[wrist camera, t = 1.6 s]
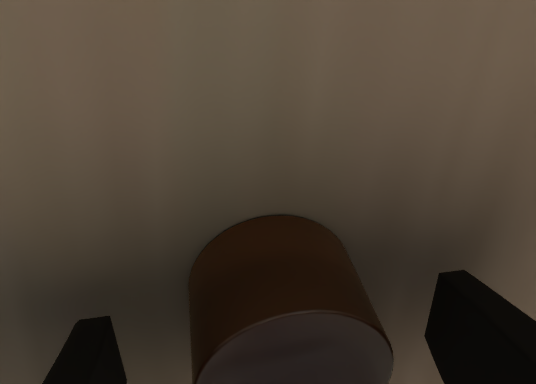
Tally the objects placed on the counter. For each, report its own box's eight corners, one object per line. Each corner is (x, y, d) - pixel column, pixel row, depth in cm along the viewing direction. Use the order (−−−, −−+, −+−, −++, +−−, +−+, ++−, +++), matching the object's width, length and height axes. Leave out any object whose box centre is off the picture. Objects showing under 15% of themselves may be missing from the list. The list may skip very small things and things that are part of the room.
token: (343, 326, 13) (382, 429, 11) (196, 347, 13) (202, 460, 10) (354, 205, 11) (408, 297, 9) (179, 224, 11) (182, 327, 8)
